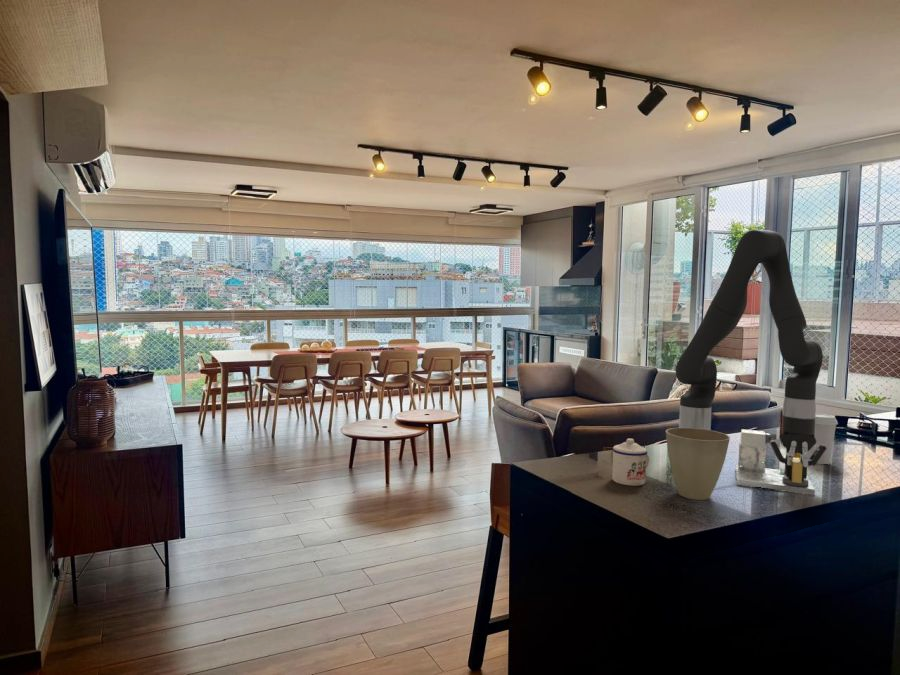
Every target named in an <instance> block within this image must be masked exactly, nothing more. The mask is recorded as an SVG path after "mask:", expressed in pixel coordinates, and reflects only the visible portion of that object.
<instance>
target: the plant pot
mask: <svg viewBox="0 0 900 675" xmlns="http://www.w3.org/2000/svg"><path fill="white" fill-rule="evenodd" d="M665 439H666V448H667V452H668V453H667V454H668V459H669V466H670V469H671V473H672V477H673V481H674V484H675V487H676V490H677V493H678V494H679V496H681V497H683V498H685V499H689V500H695V501H705V500H708V499H710V498H711V496H712V494H713V493H714V489H715V488H716V485H717V483H718V480H719V478H720V476H721V472H722V470H723V467H724V463H725V461H726V456H727V452H728V448H729V444H730V439H731V438H730V436H729V435H728V434H726V433H723V432H720V431H716V430H712V429H711V430H706V429H698V428H679V427H672V428H667V429H665Z"/></svg>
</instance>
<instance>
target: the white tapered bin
mask: <svg viewBox="0 0 900 675" xmlns="http://www.w3.org/2000/svg"><path fill="white" fill-rule="evenodd" d="M837 425H839V423H838V420H837V418H836V416H834V415H831V414H825V413H824V414H823V413H817V412H816V416H815V434H814V436H815V439H816V442H818V443H820V444H823V445H824V446H825V447H826V450H825V452H824V453H823V455H822V456H821V457H820V459H819V460H818V462H817V463H818V464H817V465H821V464H828V465H830V464H831V459H832V452H833V448H834V447H833V446H834V440H835V435H836V434H835V432H836V427H837ZM814 447H815V445H814V446H813V447H812V448H811V449H810V450H809V451H808V460H809V459H810V457H811V456H812V454H813V453H814V451H815V449H814Z"/></svg>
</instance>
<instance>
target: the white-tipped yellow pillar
mask: <svg viewBox="0 0 900 675" xmlns="http://www.w3.org/2000/svg"><path fill="white" fill-rule="evenodd" d="M782 482H783V483H786V484H789V485H793V486H808V480H806V479H804V481H802V463H801V461H800V459H799V458H793V461H792V479H788V478H787V477H786V476H784V477H782Z"/></svg>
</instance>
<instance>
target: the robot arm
mask: <svg viewBox="0 0 900 675" xmlns="http://www.w3.org/2000/svg"><path fill="white" fill-rule="evenodd" d="M732 255H733V256H732V258H731V260H730V264H729V266H728V268H727V271H726V273H725V275H724V277H723V279H722V281H721V283H720V286H719V287H718V290H717V292H716V293H715V295H714V297H713V298H712V300H711V301H710V302H711V303H710V305H709V306H708V308H707V311H706V313H705V314H704V317H703V319H702V321H701V322H700V324H699V326H698V327H697V329H696V332H695V334H694V335H693V338H692V339H691V341H690V342H689V343H688V345H687V346H686V348H685V349H684V351H683V352H682V354H681V356H680V357H679V359H678V361H677V363H676V366H675V376H676V379H677V381H679V382H680V383H681V384H684V385H689V386H690V387H689V389H688V390H687V391H686V392H685V393H684V394H682V395H681V396H680V397H679V398H680V399H679V416H678V417H679V421H678V422H679V423H678V428H698V429H706V430H712V429H711V426H712V405H713V401H714V399H715V396H716V387H717V379H718V378H717V377H718V369H717V363H716V361H715V359H713V357H711V356H709V355H710V353H711V352H712V351H713V349H714V348H716V347H717V345H719V344H720V343H721V342H722V341H723V340H725V339H726V338H727V337H728V336H729V335H730V334H731V333H732V332H734V330H735V328H736V327H737V326H738V324H739V322H740V320H741V319H742V317H743V315H744V313H745V311H746V309H747V304H748V286H749V282H750V280H751V278H752V276H753V274H754V272H755V270H756V269H757V267H758V265H760V264H761V265H762V266H763V269H765V271H766V274H767V277H768V282H769V296H768V299H769V300H768V301H769V309H770V313H771V315H772V318H773V321H774V323H775V326H776V329H777V337H778V338H777V339H778V347H779V352H780V355H781V357H782V359H783V361H784V362H785V363H786V364H788V365H789V366H791V367H793V371H792V373H791V374H790V375H789V376H787V377H786V379H785V384H784V385H785V386H784V387H785V388H784V400H783V405H782V409H783V410H782V409H781V410H782V412H783V417H782V433H781V435H780V434H779V435H780V436H779V438H776V440H770V441H769V443H770V447H771V449H772V451H773V453H774V455H775V457H776V458H777V460H778V461H779V462H780V463H782V464H784V468H785V476H786V477H787V478H788V479H792V461H793V457H794V453H800V461H801V463H802V481H804V479H806V477H807V476H808V467H809V466H810V467H811V466H816V465H817V464H816V463H817V462H818V460H819V459H820V457H821V456H822V455H823V453H824V452H825V450H826V447H825V446H824V445H823V444H820V443H818V442H816V439H815V436H814V434H815V416H816V413H817V412H816V411H817V405H816V394H817V393H816V391H817V381H818V378H819V376H820V371H821V369H822V365H823V358H824V357H823V356H824V355H823V349H822V347H821V346H820V344H819V343H818V342H816V341H815V340H811V339H806V338H805V335H804V330H805V329H806V327H807V320H806V317H805V314H804V312H803V309H802V307H801V304H800V302H799V299H798V298H799V297H798V295H797V292H796V290H795V285H794V282H793V276H792V272H791V267H790V263H789V256H788V251H787V246H786V242H785V240H784V237H783V236H782V234H780V233H779V232H777V231H775V230H768V229H767V230H766V229H756V228H755V229H751V230H748V231H746V232H745V233H744V234H743V235H742V236H741V238H740V239H739V241H738V243H737V245H736V247H735V250H734V253H733V254H732ZM781 444H782V446H784V448H785V457H784V456H783V454H782V452H781V450H780V449H779V448H781ZM814 445H815V447H814V449H815V451H814V453H813V454H812V456H811V457H810V459H809V460H808V451H809V450H810V449H811V448H812V447H813V446H814Z"/></svg>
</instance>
